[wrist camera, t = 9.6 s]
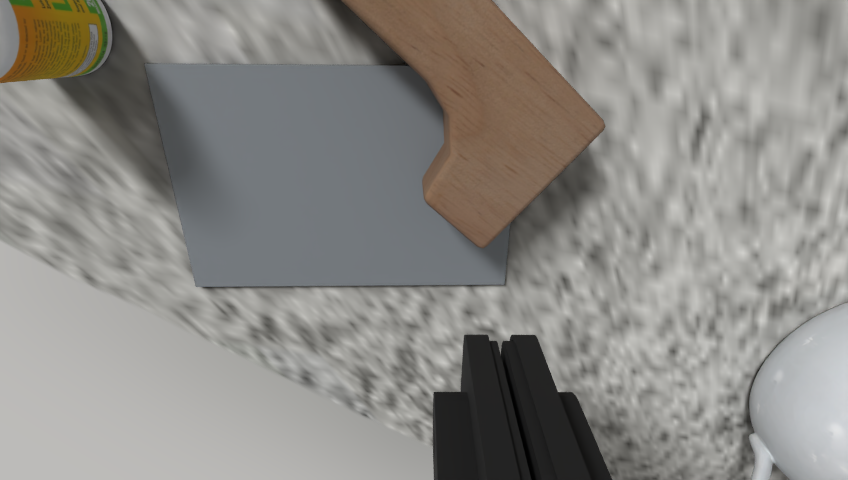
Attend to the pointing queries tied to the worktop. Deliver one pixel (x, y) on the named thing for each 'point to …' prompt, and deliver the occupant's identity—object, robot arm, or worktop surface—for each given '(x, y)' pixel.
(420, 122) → the rubber mat
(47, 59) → the supplement bottle
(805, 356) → the teapot
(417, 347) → the worktop surface
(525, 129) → the wooden block
